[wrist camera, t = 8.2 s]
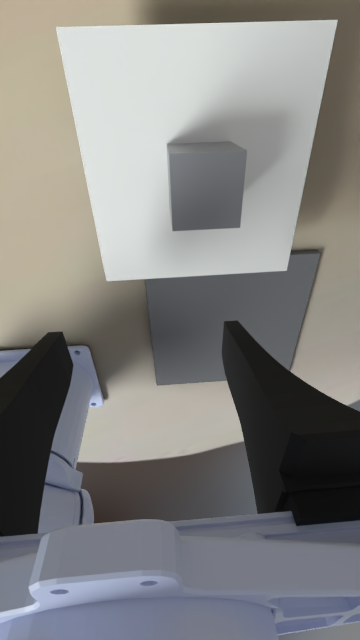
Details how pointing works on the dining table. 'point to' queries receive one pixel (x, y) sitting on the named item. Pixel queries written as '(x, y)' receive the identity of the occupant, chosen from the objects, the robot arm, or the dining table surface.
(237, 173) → the lid
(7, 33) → the dining table surface
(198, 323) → the mat
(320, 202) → the dining table surface
